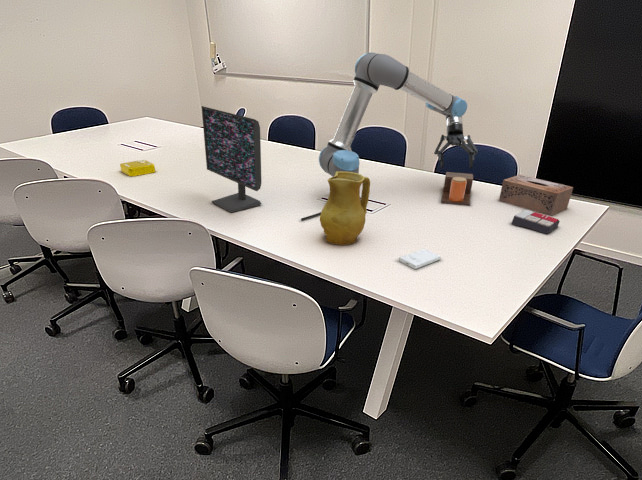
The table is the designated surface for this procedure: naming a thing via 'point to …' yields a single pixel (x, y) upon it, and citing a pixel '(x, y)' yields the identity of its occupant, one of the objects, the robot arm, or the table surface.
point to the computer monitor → (233, 154)
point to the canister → (457, 189)
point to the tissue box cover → (535, 194)
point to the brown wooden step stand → (447, 186)
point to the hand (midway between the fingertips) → (456, 167)
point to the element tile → (137, 168)
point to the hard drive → (419, 258)
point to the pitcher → (345, 208)
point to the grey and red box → (535, 221)
